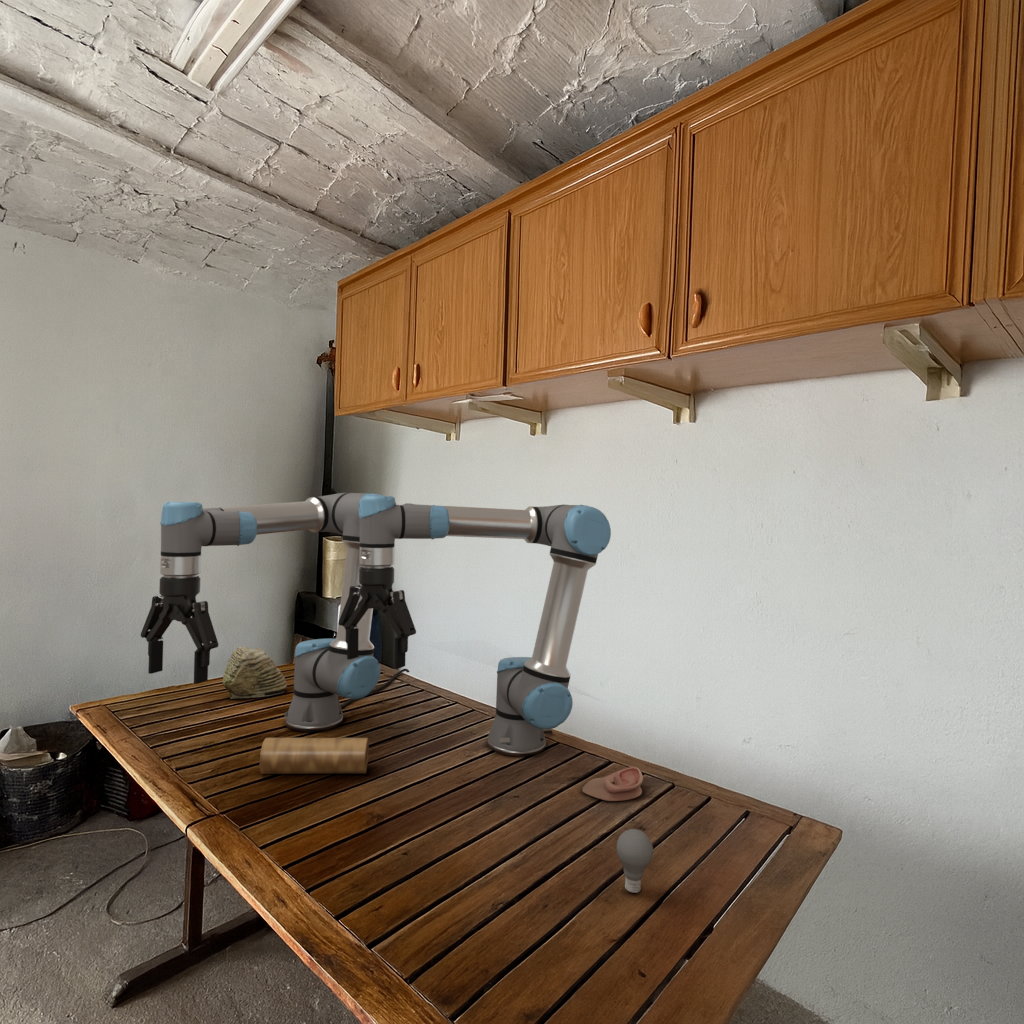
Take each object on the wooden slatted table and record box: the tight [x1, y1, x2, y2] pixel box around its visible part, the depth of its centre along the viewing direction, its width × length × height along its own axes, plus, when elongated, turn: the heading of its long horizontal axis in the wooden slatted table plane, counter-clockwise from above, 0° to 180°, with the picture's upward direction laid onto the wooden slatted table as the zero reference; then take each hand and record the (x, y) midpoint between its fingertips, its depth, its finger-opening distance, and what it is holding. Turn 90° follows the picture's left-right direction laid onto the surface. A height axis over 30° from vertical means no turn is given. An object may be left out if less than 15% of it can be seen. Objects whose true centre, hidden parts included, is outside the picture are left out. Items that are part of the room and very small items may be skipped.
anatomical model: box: [581, 766, 644, 802], centre depth 142 cm, size 13×4×12 cm
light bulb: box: [615, 828, 654, 894], centre depth 106 cm, size 6×6×10 cm
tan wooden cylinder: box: [259, 737, 370, 775], centre depth 145 cm, size 23×8×8 cm, turn 96°
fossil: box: [222, 646, 288, 699], centre depth 198 cm, size 9×18×15 cm, turn 132°
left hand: (177, 677), depth 132 cm, fingers open, 13 cm apart
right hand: (375, 662), depth 139 cm, fingers open, 13 cm apart
